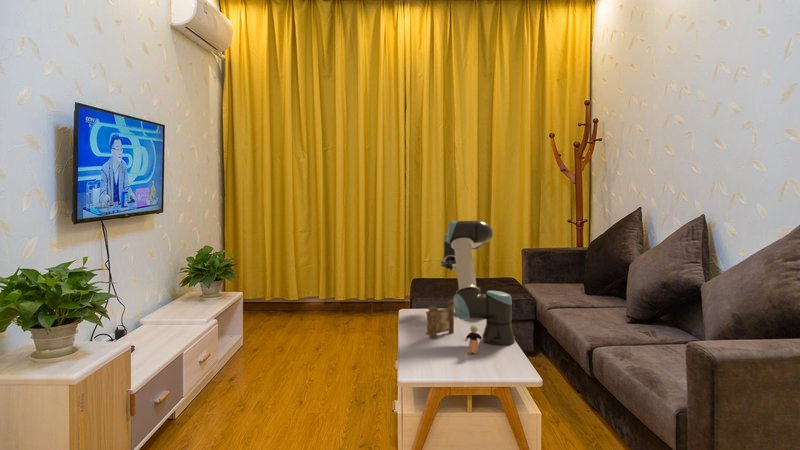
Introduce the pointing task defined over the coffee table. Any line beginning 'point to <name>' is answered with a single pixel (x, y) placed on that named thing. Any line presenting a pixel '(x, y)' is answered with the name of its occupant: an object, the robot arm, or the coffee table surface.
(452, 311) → the hinge post
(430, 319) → the latch post
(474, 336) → the grandmother figurine
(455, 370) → the coffee table surface
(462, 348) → the coffee table surface
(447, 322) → the gate
